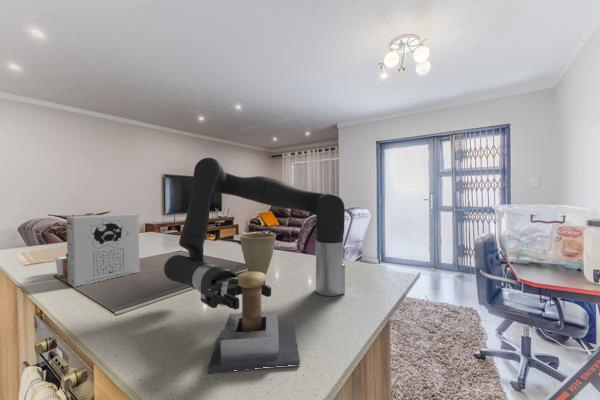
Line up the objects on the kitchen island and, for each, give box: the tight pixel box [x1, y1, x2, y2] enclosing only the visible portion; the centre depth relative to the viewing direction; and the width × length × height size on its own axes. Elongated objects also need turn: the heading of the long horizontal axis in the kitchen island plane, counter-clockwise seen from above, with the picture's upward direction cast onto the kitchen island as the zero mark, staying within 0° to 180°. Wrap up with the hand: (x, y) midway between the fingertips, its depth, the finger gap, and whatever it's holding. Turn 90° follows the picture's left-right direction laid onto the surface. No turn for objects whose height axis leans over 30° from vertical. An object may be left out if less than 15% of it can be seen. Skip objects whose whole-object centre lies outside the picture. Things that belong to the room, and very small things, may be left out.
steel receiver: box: [207, 310, 301, 374], centre depth 55 cm, size 17×13×5 cm
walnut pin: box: [238, 271, 266, 332], centre depth 55 cm, size 6×6×14 cm
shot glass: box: [55, 255, 67, 276], centre depth 108 cm, size 7×7×7 cm
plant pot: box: [239, 232, 277, 275], centre depth 109 cm, size 15×15×16 cm
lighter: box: [62, 252, 68, 279], centre depth 106 cm, size 8×3×10 cm, turn 168°
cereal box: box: [66, 212, 141, 288], centre depth 103 cm, size 22×8×25 cm, turn 145°
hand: (254, 297), depth 54 cm, fingers open, 8 cm apart
